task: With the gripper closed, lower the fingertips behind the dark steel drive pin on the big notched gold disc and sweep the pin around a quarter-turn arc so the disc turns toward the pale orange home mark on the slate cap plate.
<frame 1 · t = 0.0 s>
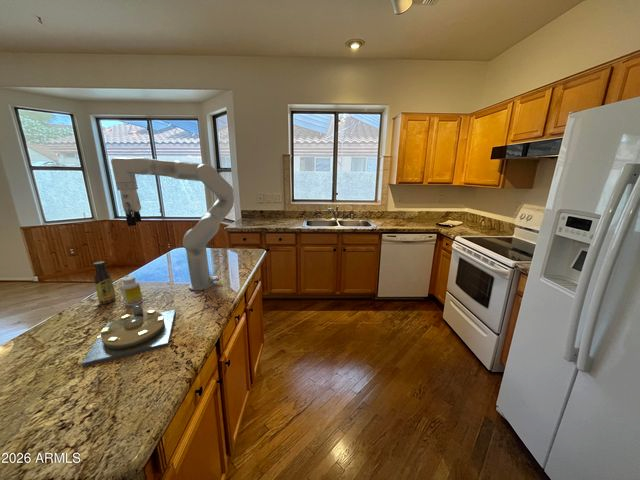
hand: (135, 223, 117), 37 cm above the counter, tool pointing down, fingers open, 9 cm apart
sauce bottle: (108, 301, 121), on the counter
supplement bottle: (134, 303, 119), on the counter
notched gold disc: (133, 323, 94), point 5 cm above the counter, hinge at 0.0°
cap plate: (136, 335, 95), on the counter
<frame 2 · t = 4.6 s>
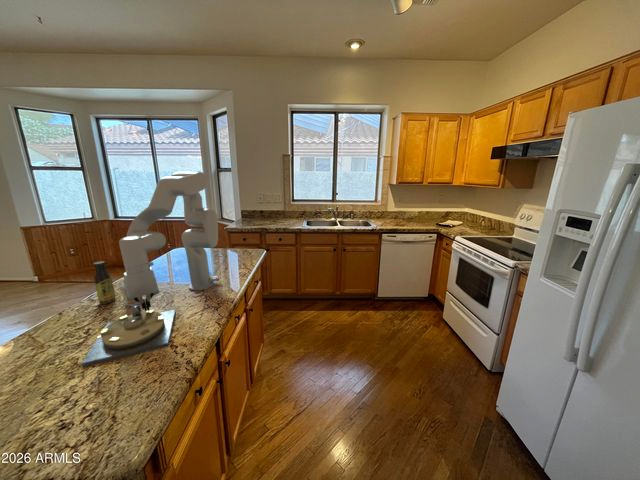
hand: (147, 309, 102), 6 cm above the counter, tool pointing down, fingers closed
notched gold disc: (133, 323, 94), point 5 cm above the counter, hinge at 4.1°, touching gripper
everything else where it was.
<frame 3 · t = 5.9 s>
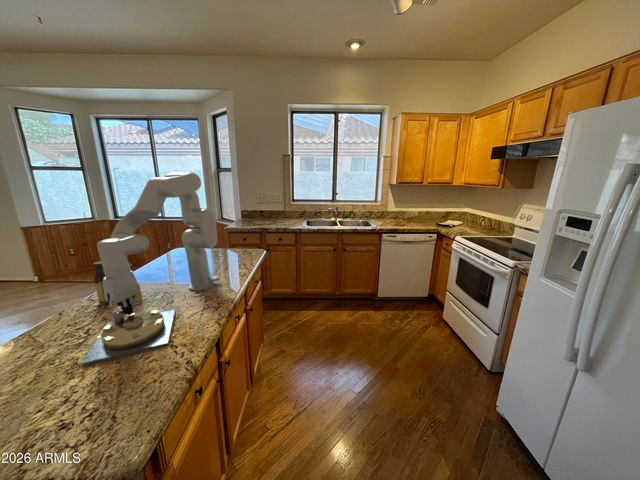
hand: (128, 313, 99), 6 cm above the counter, tool pointing down, fingers closed
notched gold disc: (133, 323, 94), point 5 cm above the counter, hinge at 48.6°, touching gripper
everything else where it was.
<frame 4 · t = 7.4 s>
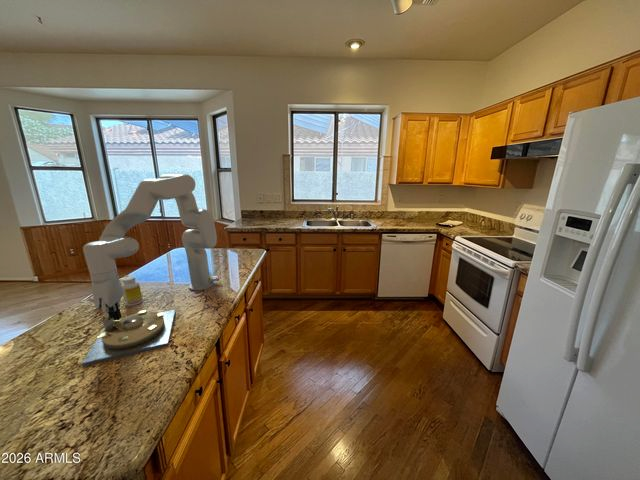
hand: (116, 319, 96), 6 cm above the counter, tool pointing down, fingers closed
notched gold disc: (133, 323, 94), point 5 cm above the counter, hinge at 82.2°
everything else where it was.
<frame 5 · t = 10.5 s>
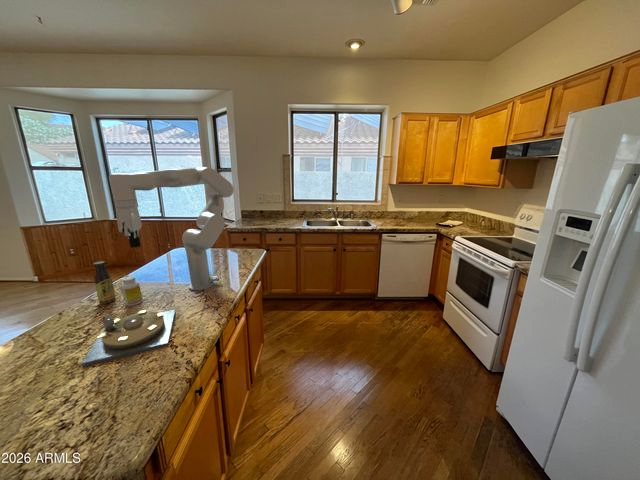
hand: (135, 246, 108), 29 cm above the counter, tool pointing down, fingers closed
nothing on the counter moved.
at the end: notched gold disc at +82° (first picture: +0°) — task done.
